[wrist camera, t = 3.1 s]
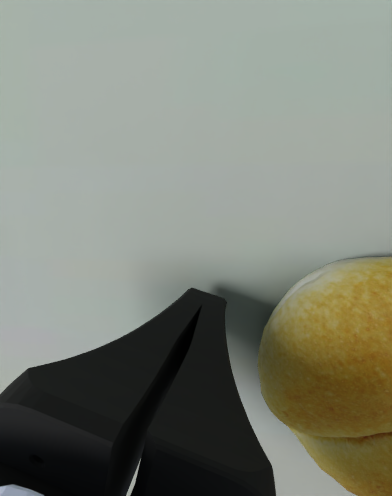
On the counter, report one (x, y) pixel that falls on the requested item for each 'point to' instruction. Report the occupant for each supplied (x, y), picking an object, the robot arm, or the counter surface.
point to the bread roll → (336, 370)
